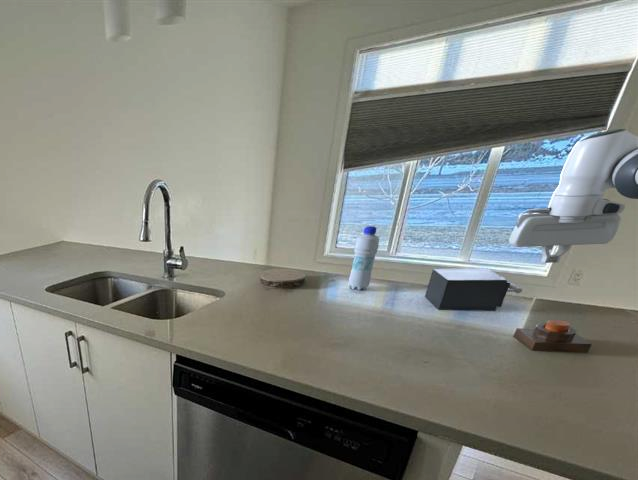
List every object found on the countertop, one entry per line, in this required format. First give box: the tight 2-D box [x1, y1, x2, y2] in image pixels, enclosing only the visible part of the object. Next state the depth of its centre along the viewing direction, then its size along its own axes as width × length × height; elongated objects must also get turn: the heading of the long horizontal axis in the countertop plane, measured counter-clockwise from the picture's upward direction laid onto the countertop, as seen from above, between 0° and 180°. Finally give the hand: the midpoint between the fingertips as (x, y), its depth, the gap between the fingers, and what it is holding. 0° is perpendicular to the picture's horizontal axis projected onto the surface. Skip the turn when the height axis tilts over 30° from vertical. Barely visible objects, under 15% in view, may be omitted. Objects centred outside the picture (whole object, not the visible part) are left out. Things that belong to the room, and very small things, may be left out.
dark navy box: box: [424, 268, 508, 311], centre depth 116 cm, size 14×12×9 cm
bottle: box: [347, 225, 380, 291], centre depth 131 cm, size 7×7×20 cm
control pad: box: [513, 322, 592, 354], centre depth 92 cm, size 10×8×4 cm
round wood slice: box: [258, 268, 307, 290], centre depth 148 cm, size 16×16×3 cm
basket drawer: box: [497, 280, 523, 308], centre depth 115 cm, size 17×10×7 cm, turn 74°
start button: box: [545, 319, 571, 332], centre depth 91 cm, size 4×4×2 cm
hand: (549, 262), depth 107 cm, fingers closed
